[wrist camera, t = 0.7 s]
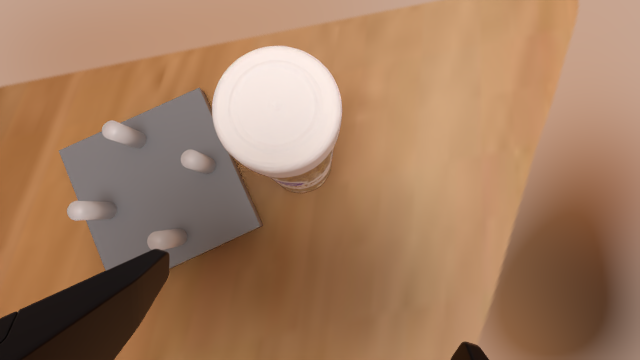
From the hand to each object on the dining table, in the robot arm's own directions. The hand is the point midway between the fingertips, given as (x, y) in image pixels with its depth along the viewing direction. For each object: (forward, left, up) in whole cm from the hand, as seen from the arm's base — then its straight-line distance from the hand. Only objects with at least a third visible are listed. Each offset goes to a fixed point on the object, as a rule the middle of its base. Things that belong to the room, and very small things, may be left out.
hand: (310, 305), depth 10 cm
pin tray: (-9, +9, -14) cm, 19 cm away
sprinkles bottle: (+1, +6, -14) cm, 16 cm away
